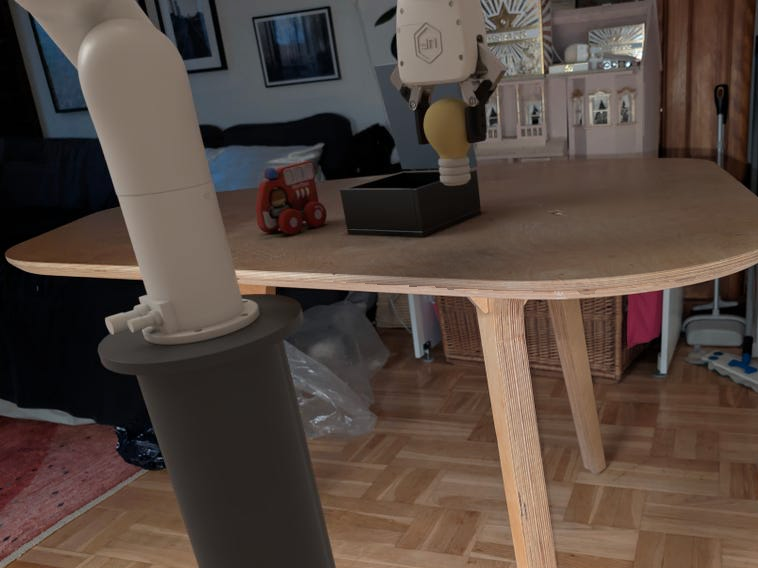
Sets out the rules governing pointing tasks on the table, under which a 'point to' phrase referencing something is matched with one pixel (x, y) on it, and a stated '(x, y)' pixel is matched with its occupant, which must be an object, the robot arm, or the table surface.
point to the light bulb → (449, 139)
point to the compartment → (408, 204)
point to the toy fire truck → (289, 199)
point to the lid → (413, 121)
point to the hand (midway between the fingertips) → (451, 141)
